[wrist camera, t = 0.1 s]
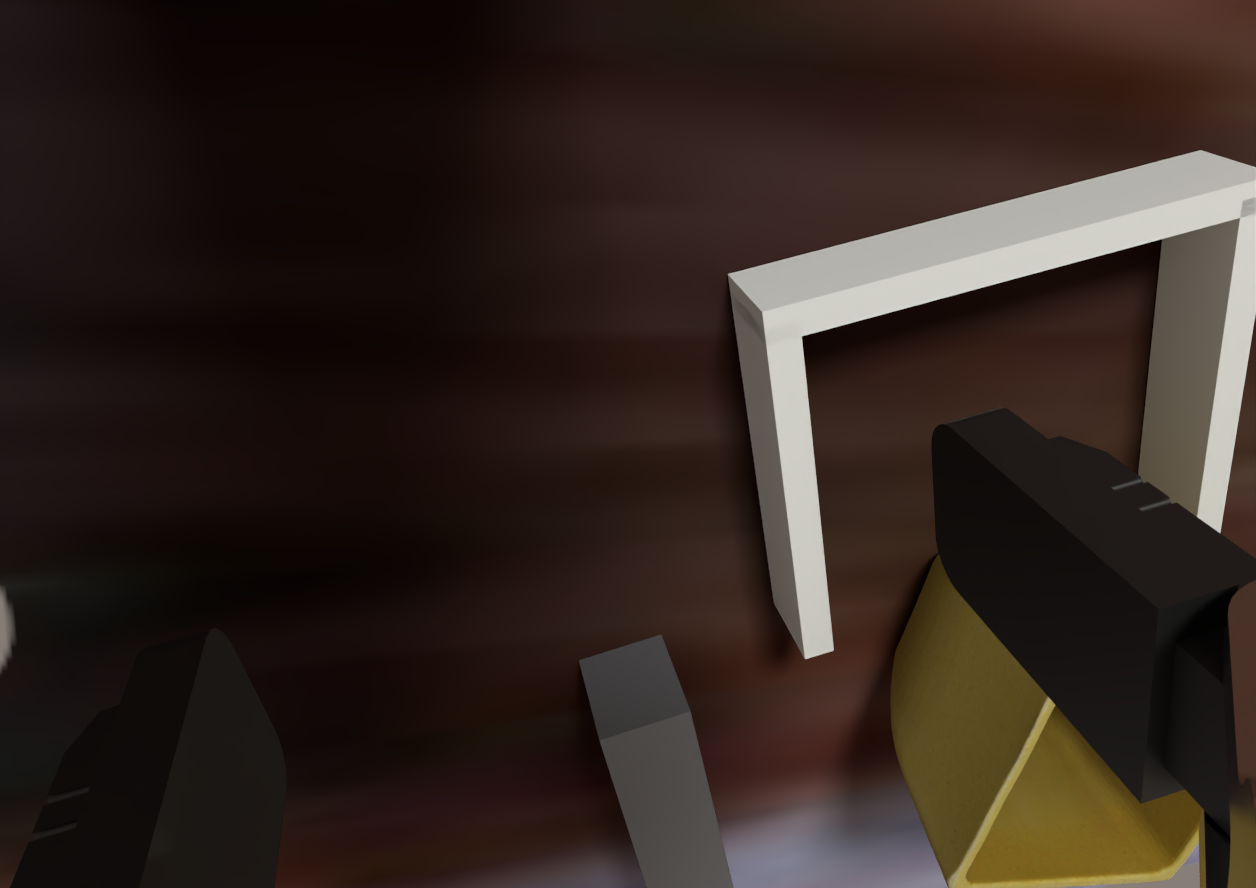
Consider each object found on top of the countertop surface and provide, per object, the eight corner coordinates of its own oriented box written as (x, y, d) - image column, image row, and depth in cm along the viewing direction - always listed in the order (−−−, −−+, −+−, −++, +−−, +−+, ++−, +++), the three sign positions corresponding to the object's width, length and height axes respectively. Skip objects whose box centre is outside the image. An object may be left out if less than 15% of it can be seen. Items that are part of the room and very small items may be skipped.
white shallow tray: (727, 274, 28) (762, 312, 26) (1200, 150, 30) (1278, 174, 27) (773, 602, 35) (805, 659, 32) (1160, 488, 36) (1220, 533, 34)
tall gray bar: (577, 656, 34) (599, 740, 31) (659, 630, 35) (690, 711, 31) (644, 866, 40) (668, 956, 37) (713, 843, 41) (743, 930, 37)
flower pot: (1024, 696, 40) (1176, 886, 32) (832, 695, 38) (946, 900, 30) (1114, 514, 36) (1311, 680, 29) (906, 499, 34) (1061, 677, 26)
